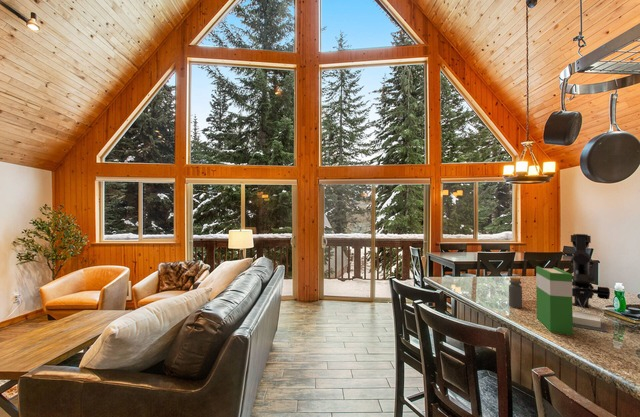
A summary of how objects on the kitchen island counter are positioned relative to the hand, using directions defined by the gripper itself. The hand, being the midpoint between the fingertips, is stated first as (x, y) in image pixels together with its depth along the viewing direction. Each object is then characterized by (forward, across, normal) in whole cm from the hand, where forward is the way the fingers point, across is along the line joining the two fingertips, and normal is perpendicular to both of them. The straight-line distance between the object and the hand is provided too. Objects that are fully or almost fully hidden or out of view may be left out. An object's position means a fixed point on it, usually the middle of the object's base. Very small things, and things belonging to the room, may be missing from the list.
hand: (582, 306), depth 138 cm
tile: (+2, 0, +5) cm, 5 cm away
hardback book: (+16, -10, -6) cm, 20 cm away
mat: (+8, 0, +1) cm, 8 cm away
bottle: (0, -26, +10) cm, 28 cm away
